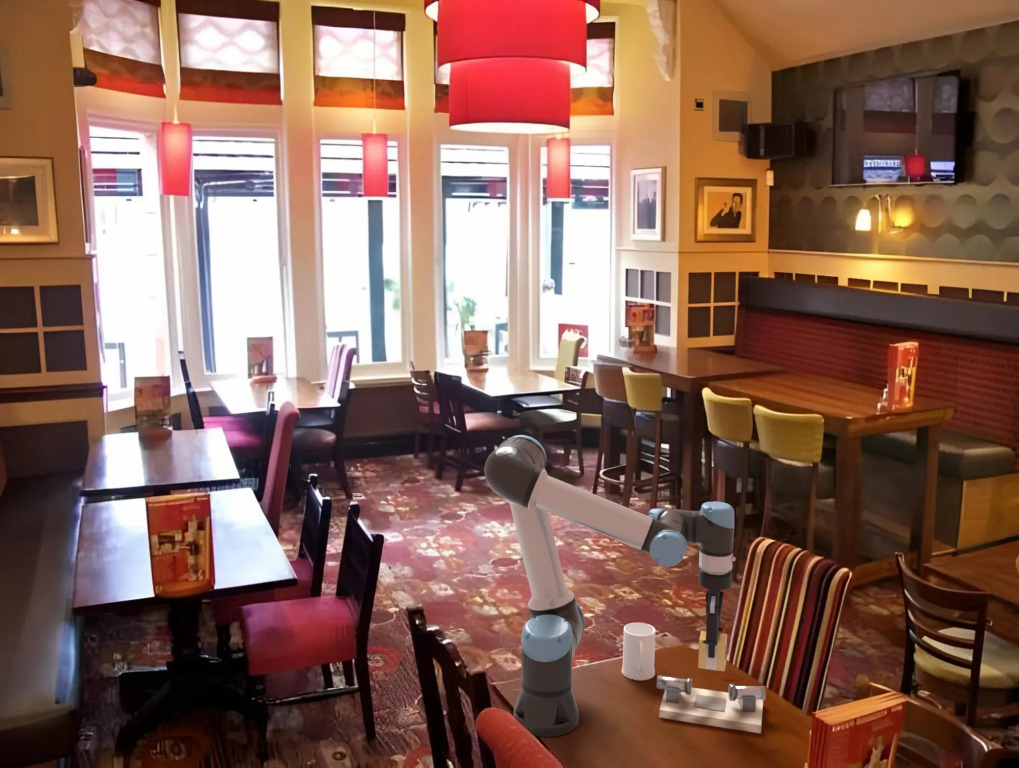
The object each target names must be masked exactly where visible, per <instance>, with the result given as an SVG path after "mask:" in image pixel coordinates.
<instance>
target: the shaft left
mask: <svg viewBox="0 0 1019 768" xmlns="http://www.w3.org/2000/svg"><path fill="white" fill-rule="evenodd" d="M656 677H657V679H656V689H659V690H664V691H665V690H666V702H669V703H676V704H679V701H680V697H681V692H685V693H686V695H691V690H692V688H693V678H692V677H687V678H679V677H673V676H672V677H671V676H665V675H657V676H656Z"/></svg>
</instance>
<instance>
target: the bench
mask: <svg viewBox="0 0 1019 768" xmlns="http://www.w3.org/2000/svg"><path fill="white" fill-rule="evenodd" d="M763 708H764V700H756V709H755V712H742V710H741V708H740V705H739V703H738V699H736V700H735V701H730V700H729V694H728V692H726V691H720V690H719V691H718V690H712V689H711V690H710V689H705V688H698V687H692V690H691V695H686V693H685V692H681V697H680V701H679V704H676V703H669V702H666V690H664V692H663V695H662V699H661V703H660V706H659V712H658V713H659V715H658V718H660V719H666V720H673V721H679V722H680V721H681V722H686V723H691V724H697V725H705V726H710V727H711V726H712V727H717V728H723V729H729V730H737V731H741V732H742V731H743V732H749V733H755V734H756V733H757V734H762V725H763V724H762V722H763V721H762V720H763V710H764V709H763Z"/></svg>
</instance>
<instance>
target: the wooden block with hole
mask: <svg viewBox="0 0 1019 768" xmlns="http://www.w3.org/2000/svg"><path fill="white" fill-rule="evenodd" d="M703 640H706V630H701V631H700V635H699V638H698V649H697V650H698V652H697V653H698V662H697V664H698V669H703V670H706V669H705V655H706V644H705V643H703ZM727 640H728V634H727V633H724V632H720V633H718V639H717V641H718V660H717V670H716V671H719V672H725V671H726V665H727V655H728V645H727V644H728V641H727Z"/></svg>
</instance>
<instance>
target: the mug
mask: <svg viewBox="0 0 1019 768" xmlns="http://www.w3.org/2000/svg"><path fill="white" fill-rule="evenodd" d="M622 642H623V645H622V668H621V674H622V675H623V676H624V677H625V678H626V679H629V680H632V679H633V680H634V681H649V680H651V679H652V678H654V677H655V675H656V671H655V657H656V656H655V652H656V650H655V649H656V628H655V627H654V626H653V625H651V624H649V623H645V622H631V623H627V624H625V625H624V627H623V641H622Z"/></svg>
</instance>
